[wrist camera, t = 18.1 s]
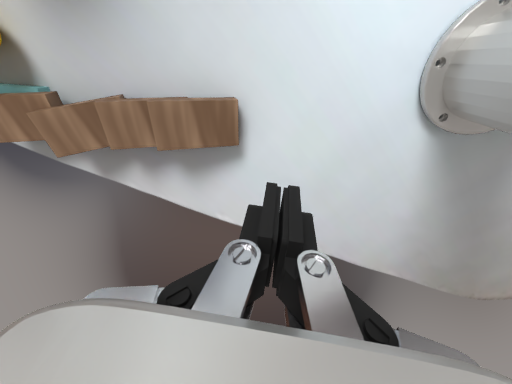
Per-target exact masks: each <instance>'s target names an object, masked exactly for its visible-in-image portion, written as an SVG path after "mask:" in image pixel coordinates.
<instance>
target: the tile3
mask: <svg viewBox="0 0 512 384" xmlns="http://www.w3.org/2000/svg"><path fill="white" fill-rule="evenodd" d="M101 99H124V96H123V94H121V95H116V96H111V97H105V98H100V99H94V100H89V101H83V102H78V103H72V104H67V105H61V106H56V107H50V108H45V109H39V110H35V111H32V112H29V113H26V114H27V115H28V117H29V118H30V119H31V121H32V122H33V124H34V125H35V126H36V128H37V129H38V131H39V132H40V134H41V135H42V136H43V138H44V139H45V141H46V142H47V143H48V145H49V146H50V148H51V149H52V150H53V152H54V153H55V155H56V156H57V158H59V157H63V156H68V155H72V154H77V153H82V152H86V151H91V150H95V149H100V148H104V147H109V146H110V145H109V143H108V140H107V137H106V134H105V132H104V129H103V126H102V123H101V121H100V118H99V115H98V112H97V110H96V107H95V104H94V102H96V101H98V100H101Z"/></svg>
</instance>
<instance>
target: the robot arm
mask: <svg viewBox="0 0 512 384" xmlns="http://www.w3.org/2000/svg"><path fill="white" fill-rule="evenodd" d="M437 61H438V62H437ZM436 62H437V64H436ZM420 99H421V105H422V108H423V111H424V113H425V114H426V116H427V117H428V119H429V120H430V121H431V122H432V123H433V124H435V125H436V126H437V127H440V128H442V129H444V130H446V131H449V132H452V133H455V134H465V135H469V134H480V133H484V132H489V131H493V130H495V129H497V130H501V131H504V132H507V133H510V134H512V0H480V1H478V2H477V3H476V4H474V5H473V6H472V7H470V8H469V9H467V10H466V11H465V12H464V13H463V14H462V15H461V16H460V17H459V18H458V19H457V20H456V21H455V22H453V24H452V25H451V26H450V27H449V28H448V30H447V31H446V32H445V33H444V34H443V36H442V37H441V38H440V40H439V41H438V43H437V44H436V46H435V47H434V49H433V51H432V52H431V55H430V57H429V59H428V61H427V63H426V65H425V68H424V72H423V75H422V78H421V85H420ZM280 196H281V187H277V184H276V183H268V182H267V185H266V191H265V197H264V202H263V206H256V205H248V209H247V212H246V216H245V220H244V223H243V227H242V231H241V235H240V238H239V240H235V241H232V242H231V243H229V244H228V245H227V246H226V248H225V249H224V251H223V253H222V254H221V256H220V258H219V259H218V260H216V261H214V262H212V263H210V264H208V265H206V266H204V267H202V268H200V269H198V270H196V271H194V272H192V273H191V274H188V275H186V276H184V277H182V278H180V279H178V280H176V281H174V282H172V283H171V284H169V285H168V286H166V287H165V288H159V287H158V285H154V286H133V287H114V288H103V289H98V290H96V291H94V292H92V293H90V294H89V295H88V296H86V297H85V298H84V299H83V300H75V301H69V302H64V303H59V304H55V305H51V306H48V307H45V308H42V309H39V310H36V311H34V312H31V313H29V314H27V315H25V316H23V317H21V318H20V319H18V320H16V321H15V322H13V323H12V324H10V325H9V326H7V327H6V328H5V329H3V330H2V331H0V384H512V379H510V378H508V377H505V376H503V375H501V374H498V373H496V372H493V371H491V370H488V369H486V368H482V367H480V366H479V365H478V364H477V363H476V362H475V361H474V360H473V359H471V358H470V357H469V356H467V355H466V354H464V353H462V352H460V351H458V350H456V349H453V348H450V347H448V346H445V345H443V344H440V343H438V342H435V341H433V340H430V339H427V338H425V337H422V336H420V335H417V334H415V333H412V332H409V331H407V330H404V329H402V328H399V327H398V328H397V329H393V328H392V327H391V326H390V325H389V324H388V323H387V322H386V321H385V320H384V319H383V318H382V317H381V316H380V315H379V314H377V313H376V312H375V311H374V310H373V309H372V308H370V307H369V306H368V305H367V304H366V303H365V302H364V301H362V300H361V299H360V298H359V297H358V296H356V295H355V294H354V293H353V292H352V291H351V290H349V289H348V288H347V287H346V286H345V285H344V284H343V283H342V282H341V280H340V277H339V275H338V272H337V270H336V267H335V265H334V263H333V261H332V260H331V259H330V258H329V257H328V256H327V255H325V254H323V253H321V252H319V251H318V250H317V243H316V237H315V230H314V223H313V216H312V214H311V213H305V212H301V200H300V188H299V187H298V186H290V185H289V186H288V188H285V187H284V191H283V196H282V202H281V207H280ZM279 212H280V213H279ZM273 262H274V271H273V284H272V287H273V288H277V291H276V296H278V297H279V299H280V300H281V301H282V302H283V303H284V304H285V305H284V313H285V320H286V326H281V325H275V324H270V323H264V322H258V321H253V320H249V319H250V316H251V312H252V309H253V306H254V301H255V300H256V299H258V298H259V297H261V296H262V295H263V294H264V288H265V286H266V287H269V283H270V277H271V272H272V267H273Z"/></svg>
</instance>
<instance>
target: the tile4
mask: <svg viewBox="0 0 512 384" xmlns="http://www.w3.org/2000/svg"><path fill="white" fill-rule="evenodd" d="M61 105H63V104H62V102H61V100H60V97H59V95H58V93H57V91H54V92H26V93H0V143H2V142H21V141H39V140H45V139H44V138H43V136H42V135H41V134H40V132H39V131H38V129H37V128H36V126H35V125H34V124H33V122H32V121H31V119H30V118H29V117H28V115H27V114H26V113H29V112H32V111H35V110H39V109H45V108H50V107H56V106H61Z"/></svg>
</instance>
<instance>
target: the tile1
mask: <svg viewBox="0 0 512 384" xmlns="http://www.w3.org/2000/svg"><path fill="white" fill-rule="evenodd" d="M147 106H148V110H149V115H150V119H151V124H152V128H153V133H154V137H155V142H156V146H157V150H158V151H163V150H177V149H192V148H206V147H221V146H235V145H239V134H238V100H237V99H236V98H234V97H226V98H156V99H149V100H148V101H147Z"/></svg>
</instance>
